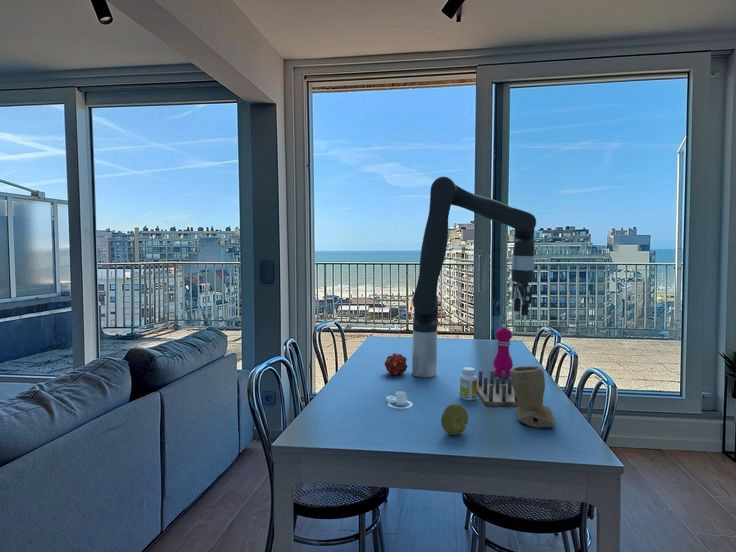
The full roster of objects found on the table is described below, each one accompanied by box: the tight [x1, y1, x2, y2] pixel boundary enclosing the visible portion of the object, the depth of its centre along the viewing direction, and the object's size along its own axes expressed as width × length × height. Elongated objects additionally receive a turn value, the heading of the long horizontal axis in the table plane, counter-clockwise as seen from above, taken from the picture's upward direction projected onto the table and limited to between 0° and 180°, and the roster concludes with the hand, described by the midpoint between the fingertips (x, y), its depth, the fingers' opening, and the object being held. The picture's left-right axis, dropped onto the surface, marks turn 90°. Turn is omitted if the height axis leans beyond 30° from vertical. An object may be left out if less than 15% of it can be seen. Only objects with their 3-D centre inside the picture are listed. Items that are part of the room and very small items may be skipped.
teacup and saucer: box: [385, 390, 414, 410], centre depth 142 cm, size 9×8×4 cm
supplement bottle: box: [459, 366, 478, 401], centre depth 148 cm, size 5×5×10 cm
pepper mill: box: [492, 323, 514, 379], centre depth 173 cm, size 7×7×20 cm
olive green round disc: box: [440, 403, 469, 436], centre depth 119 cm, size 8×4×8 cm, turn 118°
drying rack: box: [477, 370, 518, 407], centre depth 150 cm, size 16×18×6 cm
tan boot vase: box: [510, 365, 556, 429], centre depth 130 cm, size 15×12×15 cm
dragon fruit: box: [384, 352, 408, 377], centre depth 175 cm, size 8×8×12 cm
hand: (520, 313), depth 164 cm, fingers open, 8 cm apart
